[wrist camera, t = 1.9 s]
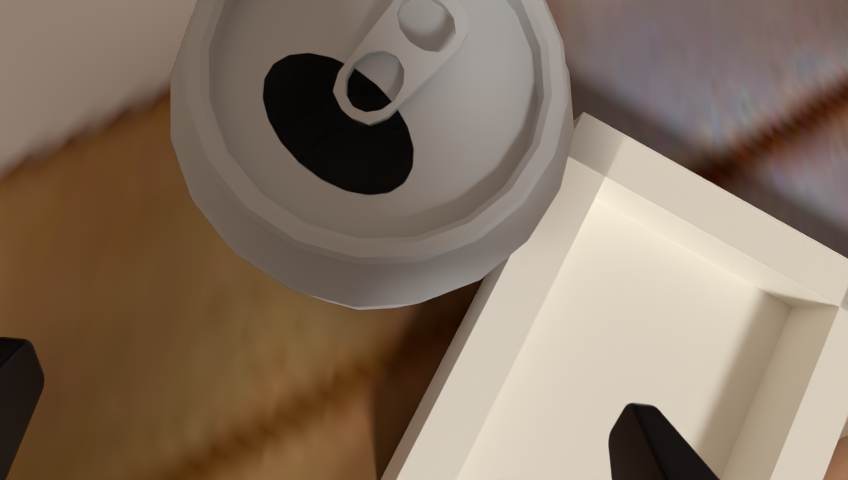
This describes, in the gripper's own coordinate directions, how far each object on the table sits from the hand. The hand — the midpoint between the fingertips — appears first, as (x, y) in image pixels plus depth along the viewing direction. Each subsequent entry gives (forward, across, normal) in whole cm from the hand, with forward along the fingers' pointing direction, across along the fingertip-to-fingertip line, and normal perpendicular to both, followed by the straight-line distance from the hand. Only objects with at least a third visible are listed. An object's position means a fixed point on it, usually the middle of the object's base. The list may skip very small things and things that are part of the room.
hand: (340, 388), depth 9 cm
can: (+12, 0, +5) cm, 13 cm away
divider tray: (+6, -14, +10) cm, 19 cm away
